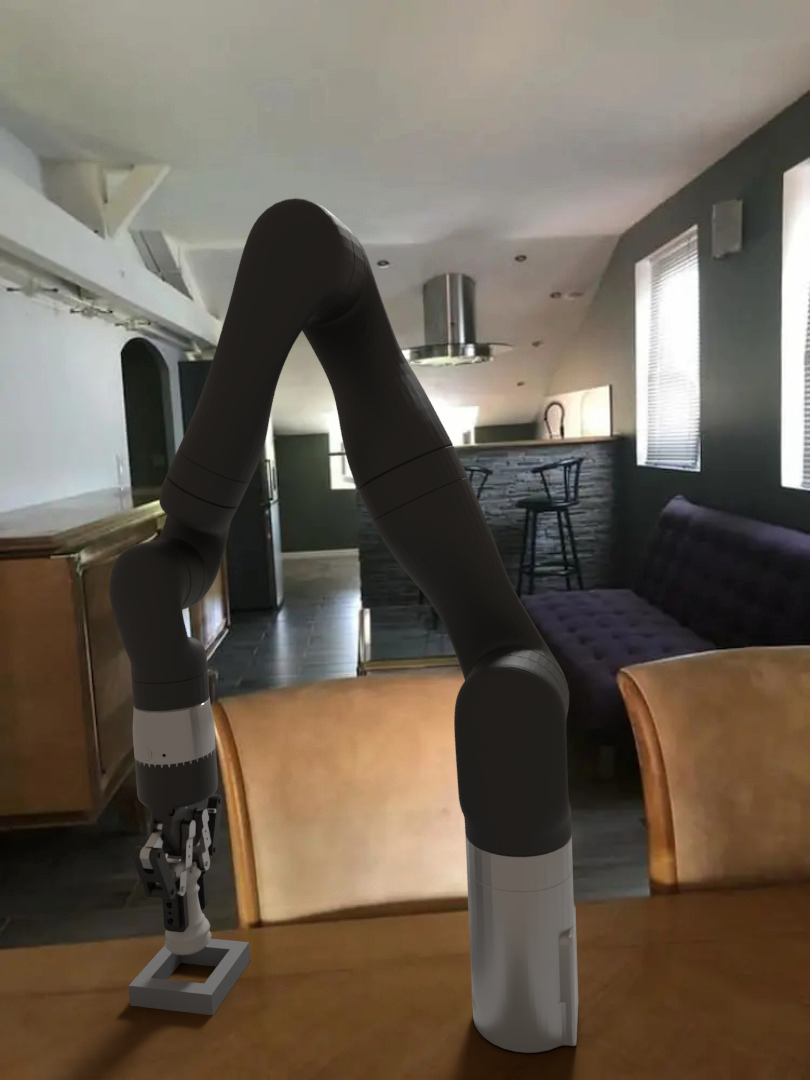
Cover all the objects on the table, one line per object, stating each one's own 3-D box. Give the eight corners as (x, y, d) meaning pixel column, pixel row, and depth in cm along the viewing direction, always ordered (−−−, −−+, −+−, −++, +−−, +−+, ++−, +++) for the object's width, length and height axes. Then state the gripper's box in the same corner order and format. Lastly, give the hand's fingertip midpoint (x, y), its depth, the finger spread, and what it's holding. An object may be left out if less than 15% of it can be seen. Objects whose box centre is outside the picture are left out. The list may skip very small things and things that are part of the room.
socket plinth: (250, 960, 85) (249, 942, 85) (212, 1015, 77) (211, 994, 77) (175, 953, 87) (173, 935, 87) (130, 1005, 79) (128, 985, 79)
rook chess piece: (155, 950, 81) (149, 871, 80) (187, 927, 85) (181, 851, 84) (190, 961, 79) (184, 881, 78) (221, 937, 83) (216, 859, 82)
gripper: (173, 777, 72) (187, 965, 74) (242, 725, 86) (252, 885, 87) (97, 773, 74) (111, 957, 75) (176, 722, 87) (187, 879, 89)
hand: (187, 917), depth 81 cm, fingers closed on rook chess piece, 3 cm apart
